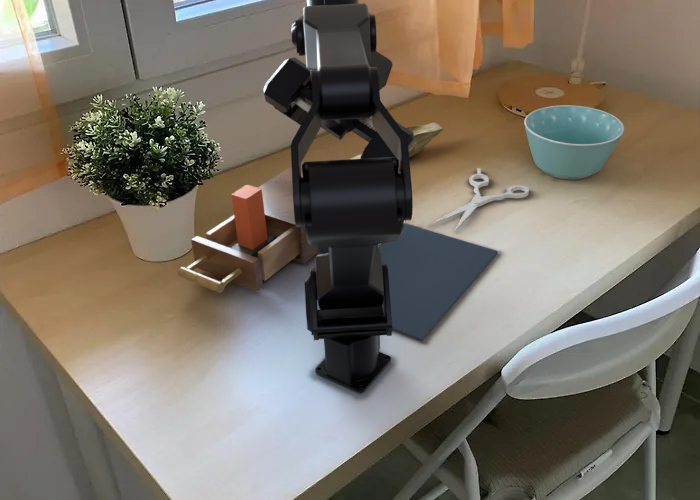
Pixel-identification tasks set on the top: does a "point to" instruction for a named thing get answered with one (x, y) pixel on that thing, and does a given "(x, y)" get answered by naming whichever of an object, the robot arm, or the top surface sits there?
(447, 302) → the mat
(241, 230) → the stamp
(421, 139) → the tool
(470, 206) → the scissors
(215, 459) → the top surface
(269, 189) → the cabinet
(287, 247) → the drawer
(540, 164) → the bowl
